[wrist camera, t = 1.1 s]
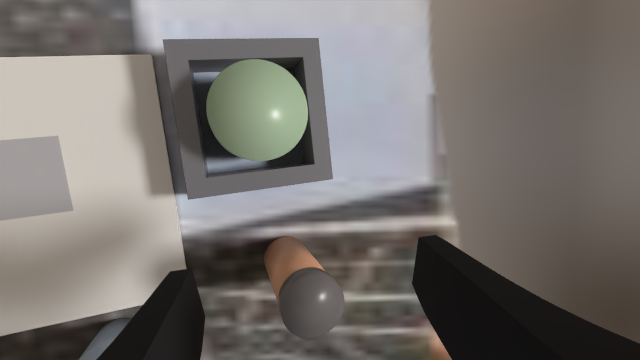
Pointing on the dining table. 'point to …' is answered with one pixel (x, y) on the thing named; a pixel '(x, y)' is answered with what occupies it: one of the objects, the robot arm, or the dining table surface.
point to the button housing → (217, 57)
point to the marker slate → (104, 338)
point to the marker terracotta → (302, 289)
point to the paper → (82, 189)
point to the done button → (257, 110)
